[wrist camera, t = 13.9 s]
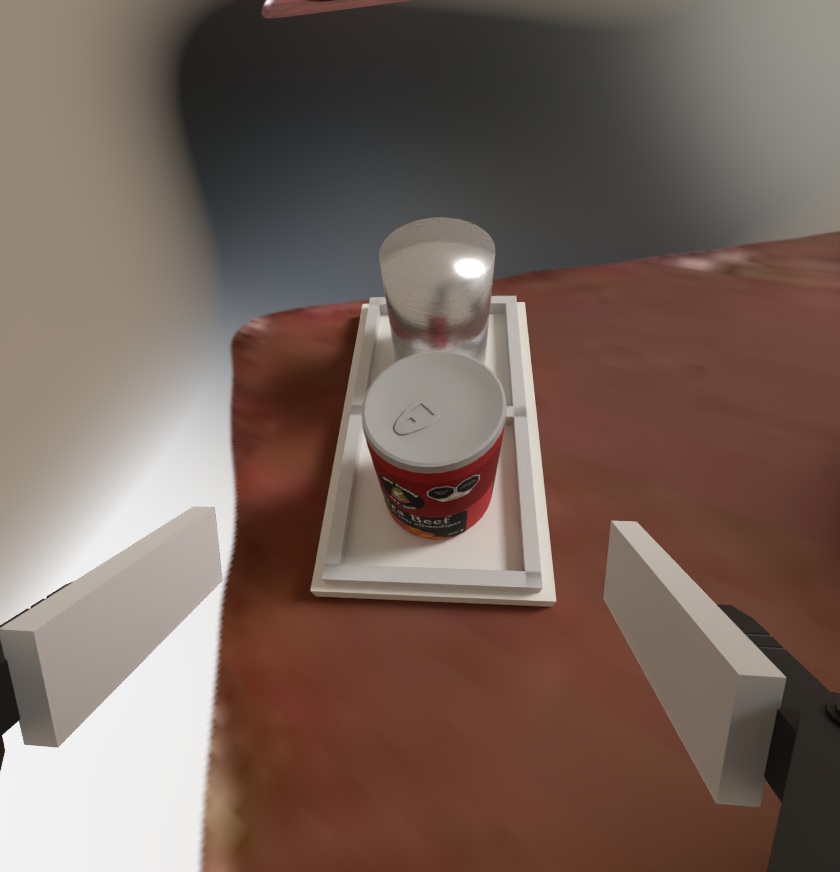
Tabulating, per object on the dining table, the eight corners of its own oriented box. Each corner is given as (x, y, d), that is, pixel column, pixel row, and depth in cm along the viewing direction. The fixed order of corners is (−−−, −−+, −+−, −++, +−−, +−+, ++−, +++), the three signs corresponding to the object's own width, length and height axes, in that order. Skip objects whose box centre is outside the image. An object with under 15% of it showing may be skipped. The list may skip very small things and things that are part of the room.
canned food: (365, 509, 33) (330, 424, 23) (425, 431, 36) (416, 330, 27) (454, 565, 30) (455, 496, 21) (510, 476, 33) (533, 381, 24)
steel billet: (484, 327, 42) (493, 216, 33) (486, 395, 38) (497, 288, 28) (399, 328, 42) (384, 219, 33) (392, 395, 38) (373, 290, 29)
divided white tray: (522, 314, 45) (526, 292, 42) (551, 606, 30) (560, 597, 27) (365, 315, 46) (360, 294, 44) (316, 596, 31) (305, 586, 29)
